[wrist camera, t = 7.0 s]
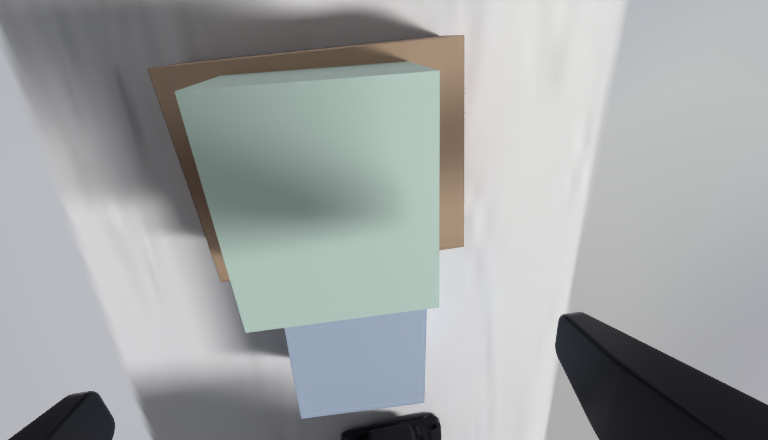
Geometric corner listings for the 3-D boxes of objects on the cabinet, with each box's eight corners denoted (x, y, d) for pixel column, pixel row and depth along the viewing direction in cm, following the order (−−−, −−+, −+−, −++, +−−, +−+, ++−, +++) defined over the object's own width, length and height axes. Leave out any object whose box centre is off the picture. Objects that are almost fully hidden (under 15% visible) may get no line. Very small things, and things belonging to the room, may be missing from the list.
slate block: (409, 343, 22) (424, 402, 19) (306, 356, 22) (301, 418, 18) (409, 240, 19) (427, 286, 16) (289, 250, 19) (279, 301, 15)
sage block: (414, 245, 16) (438, 307, 12) (265, 262, 15) (245, 333, 11) (408, 61, 12) (439, 70, 9) (221, 75, 12) (174, 91, 8)
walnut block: (444, 216, 19) (463, 246, 16) (237, 245, 18) (221, 282, 15) (440, 35, 15) (464, 35, 12) (182, 62, 14) (147, 68, 12)
